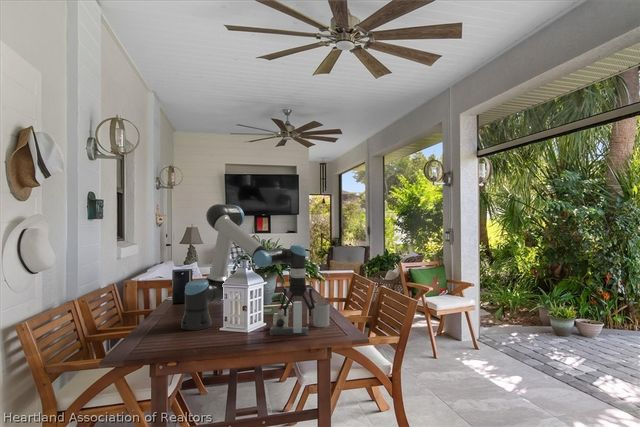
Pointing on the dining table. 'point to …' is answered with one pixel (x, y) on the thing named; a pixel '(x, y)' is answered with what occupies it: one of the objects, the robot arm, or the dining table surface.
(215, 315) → the dining table surface
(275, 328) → the rail
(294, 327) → the block
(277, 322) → the gauge cabinet
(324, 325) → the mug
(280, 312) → the gauge plunger
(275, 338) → the dining table surface
